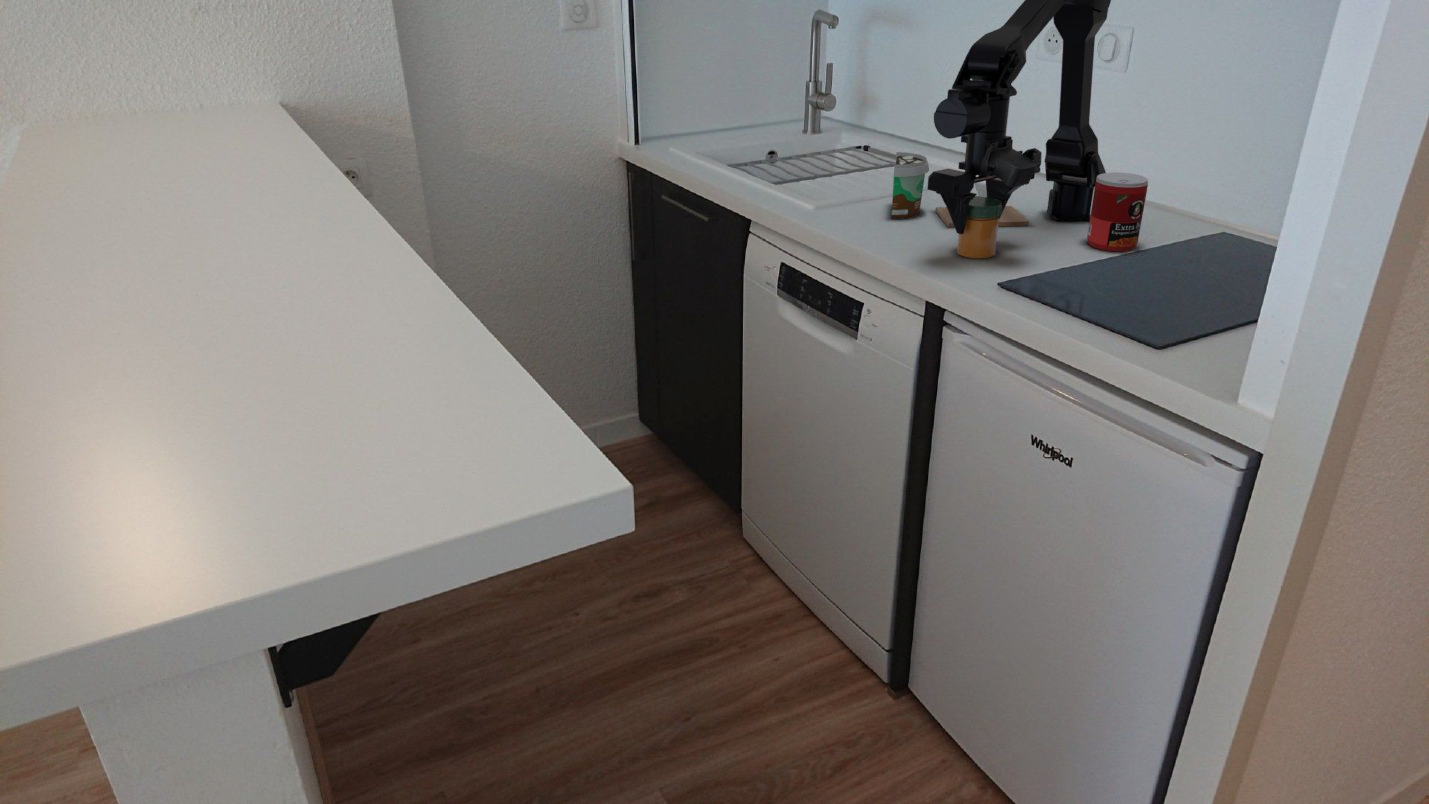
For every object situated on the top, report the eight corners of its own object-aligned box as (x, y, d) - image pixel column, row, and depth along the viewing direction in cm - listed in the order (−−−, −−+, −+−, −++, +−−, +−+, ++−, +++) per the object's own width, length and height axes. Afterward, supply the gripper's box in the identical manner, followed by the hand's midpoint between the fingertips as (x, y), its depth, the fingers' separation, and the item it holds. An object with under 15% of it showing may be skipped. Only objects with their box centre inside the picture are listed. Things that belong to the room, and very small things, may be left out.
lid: (954, 208, 154) (955, 196, 153) (995, 207, 154) (996, 196, 153) (963, 219, 148) (965, 207, 147) (1005, 218, 148) (1007, 206, 147)
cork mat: (1010, 210, 177) (1011, 205, 177) (1027, 225, 167) (1028, 221, 167) (935, 211, 177) (935, 207, 177) (948, 227, 167) (948, 222, 167)
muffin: (1011, 200, 183) (1015, 164, 180) (985, 204, 181) (989, 167, 178) (991, 194, 188) (995, 158, 185) (965, 197, 186) (969, 161, 183)
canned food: (1111, 254, 151) (1123, 185, 146) (1075, 241, 158) (1085, 175, 153) (1148, 248, 154) (1160, 179, 149) (1111, 236, 160) (1122, 170, 156)
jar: (989, 247, 156) (994, 201, 153) (999, 257, 151) (1004, 210, 148) (953, 247, 156) (957, 201, 153) (961, 258, 151) (965, 211, 148)
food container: (925, 222, 171) (930, 165, 167) (891, 220, 172) (894, 165, 168) (926, 205, 182) (930, 151, 177) (893, 204, 183) (896, 151, 179)
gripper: (987, 144, 134) (976, 251, 141) (1070, 128, 144) (1056, 230, 150) (928, 133, 142) (921, 235, 149) (1011, 119, 152) (1000, 215, 159)
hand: (976, 229), depth 152 cm, fingers open, 7 cm apart
